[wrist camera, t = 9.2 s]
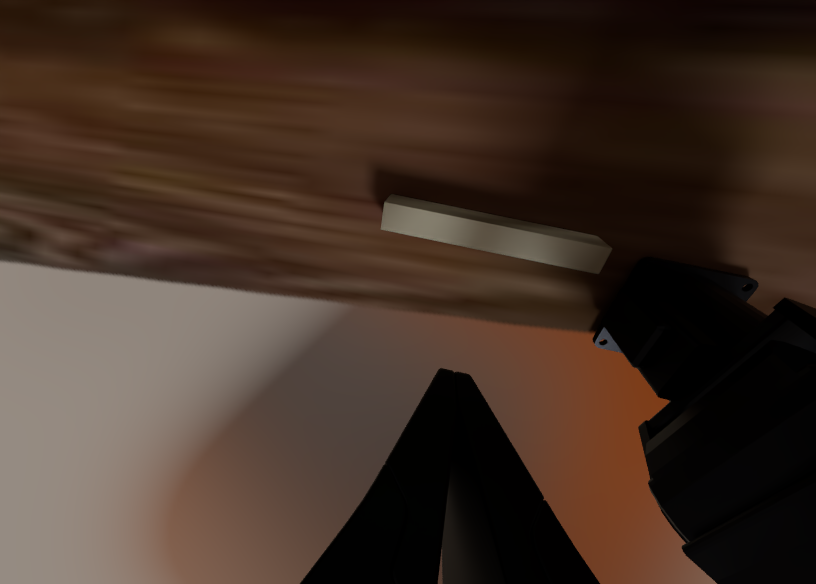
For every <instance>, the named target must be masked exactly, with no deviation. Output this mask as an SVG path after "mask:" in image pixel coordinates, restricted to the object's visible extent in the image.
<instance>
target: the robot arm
mask: <svg viewBox="0 0 816 584" xmlns="http://www.w3.org/2000/svg"><path fill="white" fill-rule="evenodd" d="M648 264H651V266H650V267H649V268H646V269H645V267H646V266H647V265H648ZM746 284H747V285H746ZM744 285H746V286H745V287H743V286H744ZM742 287H743V288H742ZM757 288H758V282H757V281H756V280H754V279H752V278H750V277H747V276H742V275H737V274H733V273H728V272H723V271H718V270H713V269H708V268H703V267H698V266H693V265H689V264H684V263H679V262H674V261H669V260H664V259H659V258H654V257H645V258H642V259H641V260H640V261H639V262H638V263H637V265H636V266H635V268H634V270H633V271H632V273H631V275H630V276H629V278H628V280H627V281H626V283H625V285H624V286H623V288H622V289H621V290H620V291H619V293H618V294H617V296H616V298H615V299H614V301H613V303H612V304H611V306H610V308H609V310H608V311H607V313H606V315H605V316H604V318H603V320H602V323H601V325H600V327H599V328H598V330H597V332H596V333H595V335H594V337H593V342H594V344H595V345H596V346H597V347H598V348H602V349H607V350H612V351H616V352H621V353H623V354H624V355H625V357H626V358H627V360H628V361H629V362H630V364H631V365H632V366H633V367H634V368H637V369H638V370H639V371H640V373H641V374H642V375H643V377H644V378H645V379H646V381H647V382H648V384H649V385H650V386H651V387H652V389H653V390H654V392H655V393H656V395H657V396H658V397H660V398H663V399H667V400H669V401H670V402H669V403H668V404H667V405H666V406H665V407H664V408H663V409H662V410H660V411H659V412H658V413H657V414H656V415H655V416H654V417H652V418H651V419H650V420H649V421H647V420H646V421H645V422H643V423H642V424H641V425H640V426H639V427H638V428H639V433H640V437H641V441H642V446H643V450H644V454H645V458H646V462H647V466H648V471H649V475H650V480H649V482H648V484H649V488H650V491H651V493H652V494H653V496H654V497H655V499H656V501H657V503H658V505H659V507H660V509H661V511H662V513H663V515H664V516H665V517H666V519H667V520H668V522H669V523H670V525H671V526H672V527H673V529H674V530H675V531H676V532H677V533H678V534H679V536H680V537H681V538H682V539H683V540H684V541H685V542H686V544H684V545H683V546H682V549H683V552H684V553H685V554H686V556H687V557H689V558H690V559H691V560H692V561H693V562H694V563H695V564H696V565H697V566H698V567H700V568H701V569H702V570H703V571H704V572H705V573H706V574H707V575H709V576H710V577H711V578H712V579H713V580H714V581H715V582H716V583H717V584H816V308H813V307H810V306H807V305H805V304H802V303H799V302H797V301H794V300H791V299H788V298H785V297H784V298H783V299H782V300H781V301H780V302H779V303H778V304H777V305H775V306H774V307H773V308H774V309H775V310H774V311H773V312H772V313H771V314H770V315H769V316H767V315H766V314H764V313H763V312H761V311H760V310H758V309H756V308H755V307H753V306H752V305H750V304H749V303H747V302H746V301H747V300H748V299H749V298H750V296H751V295H752V294H753V293H754V292H755V290H756V289H757ZM602 339H605V340H603V341H601V342H599V341H600V340H602ZM543 499H544V497H543V495H542V493H541V491H540V490H539V488H538V486H537V485H536V483H535V481H534V480H533V478H532V477H531V475H530V473H529V472H528V470H527V469H526V467H525V465H524V463H523V462H522V460H521V458H520V457H519V455H518V453H517V452H516V450H515V448H514V447H513V445H512V443H511V442H510V440H509V438H508V437H507V435H506V433H505V432H504V430H503V429H502V427H501V425H500V423H499V422H498V420H497V418H496V417H495V415H494V413H493V412H492V410H491V408H490V407H489V405H488V403H487V402H486V400H485V398H484V397H483V395H482V394H481V392H480V390H479V389H478V387H477V385H476V384H475V382H474V380H473V379H472V377H471V376H470V375H469V374H466V373H461V372H455V373H454V372H453V371H452V370H447V369H443V368H440V369H439V370H438V371H437V373H436V375H435V377H434V378H433V380H432V382H431V384H430V386H429V387H428V389H427V391H426V392H425V394H424V396H423V398H422V399H421V401H420V403H419V405H418V406H417V408H416V410H415V411H414V413H413V415H412V417H411V419H410V420H409V422H408V424H407V425H406V427H405V429H404V431H403V432H402V434H401V436H400V438H399V439H398V441H397V443H396V445H395V446H394V448H393V450H392V452H391V453H390V455H389V457H388V459H387V460H386V462H385V465H383V467H382V469H381V470H380V472H379V474H378V476H377V477H376V479H375V481H374V482H373V484H372V486H371V487H370V489H369V490H368V492H367V494H366V495H365V497H364V498H363V500H362V501H361V503H360V504H359V506H358V507H357V508H356V510H355V511H354V513H353V514H352V515H351V517H350V518H349V520H348V521H347V522H346V524H345V525H344V526H343V528H342V529H341V530H340V532H339V533H338V534H337V536H336V537H335V538H334V540H333V541H332V542H331V544H330V545H329V546H328V547H327V549H326V550H325V551H324V553H323V554H322V555H321V557H320V558H319V559H318V561H317V562H316V563H315V565H314V566H313V567H312V568H311V570H310V571H309V573H308V574H307V575H306V576H305V578H304V579H303V580H302V581H301V583H300V584H438V575H439V566H440V557H441V549H442V575H443V584H600V583H599V581H598V580H597V579H596V577H595V576H594V574H593V573H592V571H591V570H590V568H589V567H588V565H587V564H586V562H585V561H584V560H583V558H582V557H581V555H580V554H579V552H578V551H577V549H576V548H575V546H574V545H573V543H572V541H571V540H570V538H569V537H568V535H567V534H566V532H565V531H564V529H563V527H562V526H561V524H560V522H559V521H558V519H557V518H556V516H555V514H554V513H553V511H552V509H551V508H550V506H549V504H548V503H547V501H546V500H543Z"/></svg>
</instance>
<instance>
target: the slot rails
mask: <svg viewBox="0 0 816 584" xmlns="http://www.w3.org/2000/svg"><path fill="white" fill-rule="evenodd" d="M381 229H382V230H387V231H391V232H396V233H401V234H406V235H411V236H416V237H420V238H425V239H430V240H435V241H440V242H445V243H449V244H454V245H459V246H464V247H469V248H474V249H478V250H483V251H488V252H493V253H498V254H503V255H507V256H512V257H517V258H522V259H527V260H532V261H537V262H541V263H546V264H551V265H556V266H561V267H566V268H570V269H575V270H580V271H585V272H590V273H595V274H599V273H600V271H601V269H602V268H603V266H604V264H605V262H606V260H607V258H608V256H609V255H610V253H611V251H612V248H611V247H610V246H609V245H607V244H606V243H605V242H604V241H603V240H601V239H600V238H599V237H598V236H595V235H590V234H586V233H581V232H576V231H571V230H566V229H561V228H556V227H551V226H546V225H541V224H536V223H532V222H527V221H522V220H517V219H512V218H507V217H502V216H497V215H492V214H487V213H483V212H478V211H473V210H468V209H463V208H458V207H453V206H448V205H443V204H438V203H433V202H429V201H424V200H419V199H414V198H409V197H404V196H399V195H394V194H390V196H389V197H388V198H387V200H386V201H385V202H384V210H383V217H382V225H381Z"/></svg>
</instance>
